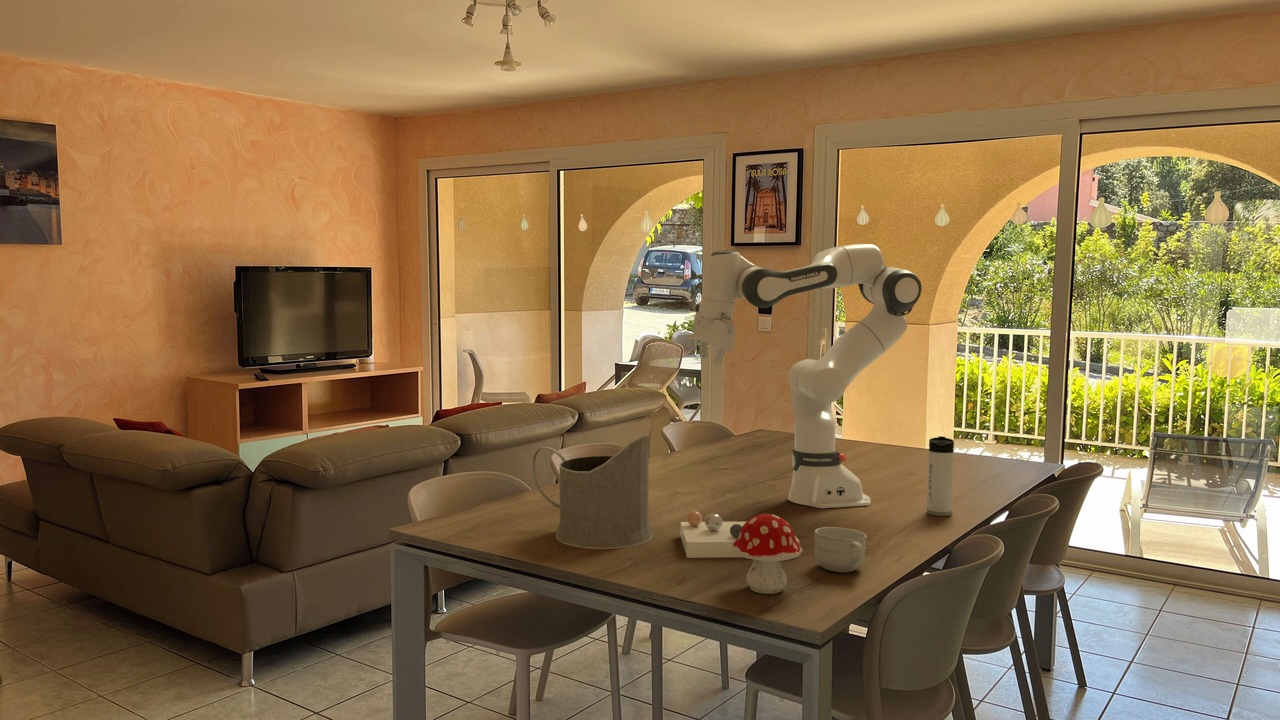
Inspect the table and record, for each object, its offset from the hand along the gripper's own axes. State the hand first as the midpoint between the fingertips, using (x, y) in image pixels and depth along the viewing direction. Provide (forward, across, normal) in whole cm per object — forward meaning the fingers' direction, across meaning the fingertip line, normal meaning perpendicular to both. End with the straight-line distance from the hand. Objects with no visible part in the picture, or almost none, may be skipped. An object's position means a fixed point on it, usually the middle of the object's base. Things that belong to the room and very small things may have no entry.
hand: (709, 361), depth 247 cm
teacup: (+32, -66, -8) cm, 73 cm away
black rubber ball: (+30, -46, +8) cm, 56 cm away
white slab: (+35, -42, +6) cm, 55 cm away
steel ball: (+30, -40, +11) cm, 51 cm away
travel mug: (+31, -31, -58) cm, 73 cm away
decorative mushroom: (+33, -71, +13) cm, 79 cm away
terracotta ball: (+32, -34, +14) cm, 49 cm away
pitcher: (+41, -21, +35) cm, 57 cm away
